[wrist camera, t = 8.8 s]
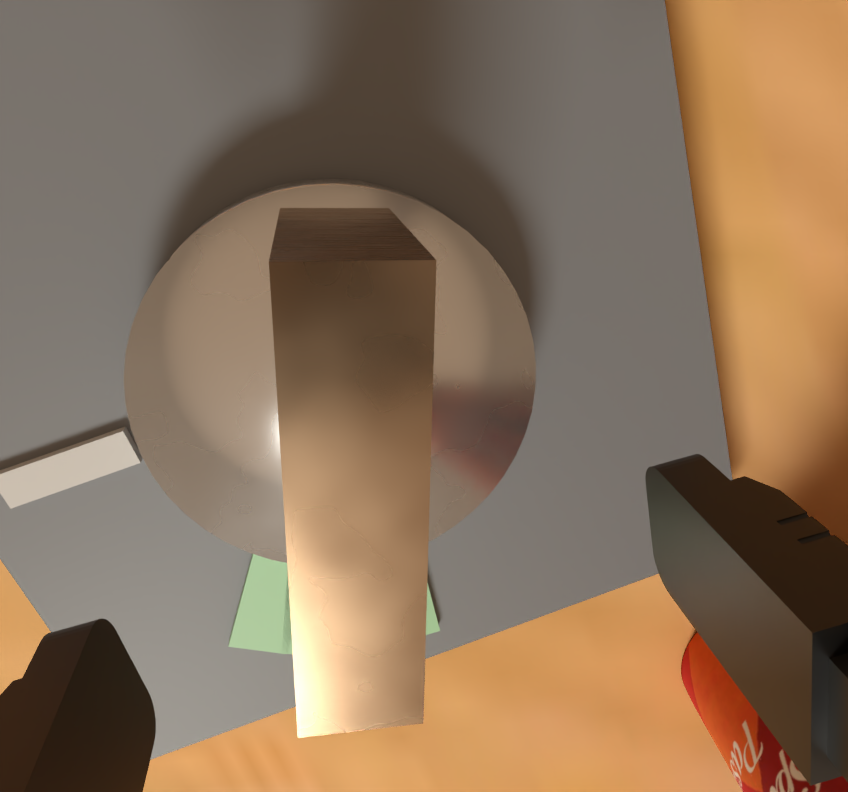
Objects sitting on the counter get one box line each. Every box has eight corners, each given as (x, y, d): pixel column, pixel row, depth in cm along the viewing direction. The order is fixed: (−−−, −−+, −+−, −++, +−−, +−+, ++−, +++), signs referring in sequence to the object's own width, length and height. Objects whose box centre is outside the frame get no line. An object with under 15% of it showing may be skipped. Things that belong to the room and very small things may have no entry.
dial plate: (-256, 92, 16) (-340, 89, 14) (596, -190, 17) (638, -232, 15) (153, 714, 25) (140, 770, 23) (709, 511, 25) (746, 548, 23)
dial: (110, 176, 16) (-34, 226, 9) (533, 180, 18) (682, 225, 11) (179, 673, 21) (122, 939, 14) (497, 641, 23) (582, 868, 16)
